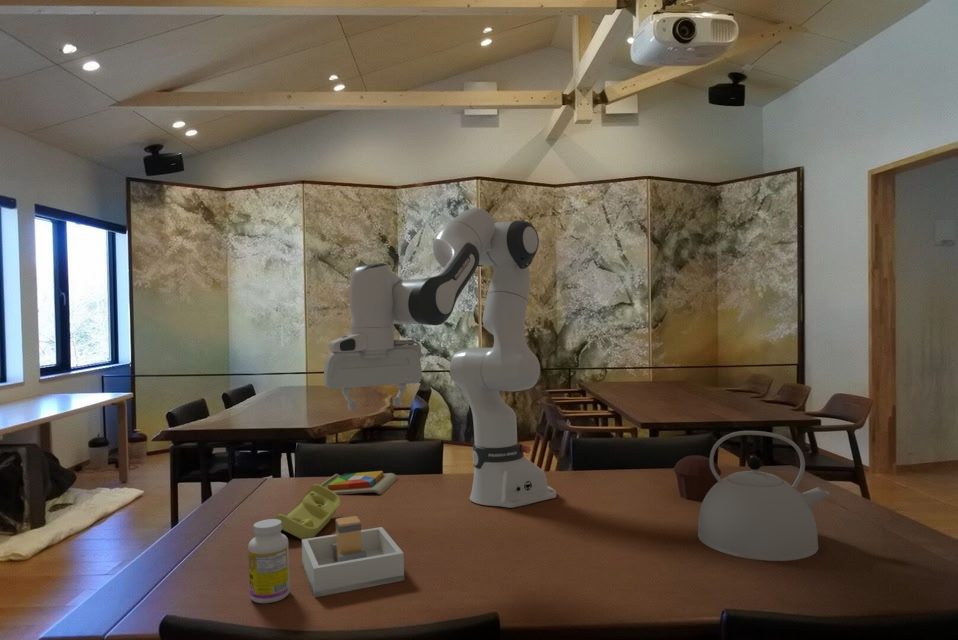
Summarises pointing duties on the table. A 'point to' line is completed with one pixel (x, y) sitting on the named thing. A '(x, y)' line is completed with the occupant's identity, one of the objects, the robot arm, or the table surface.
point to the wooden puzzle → (360, 482)
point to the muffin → (695, 477)
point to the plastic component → (311, 513)
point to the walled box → (352, 563)
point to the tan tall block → (348, 535)
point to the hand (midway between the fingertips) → (374, 407)
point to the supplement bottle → (268, 562)
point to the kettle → (759, 512)
